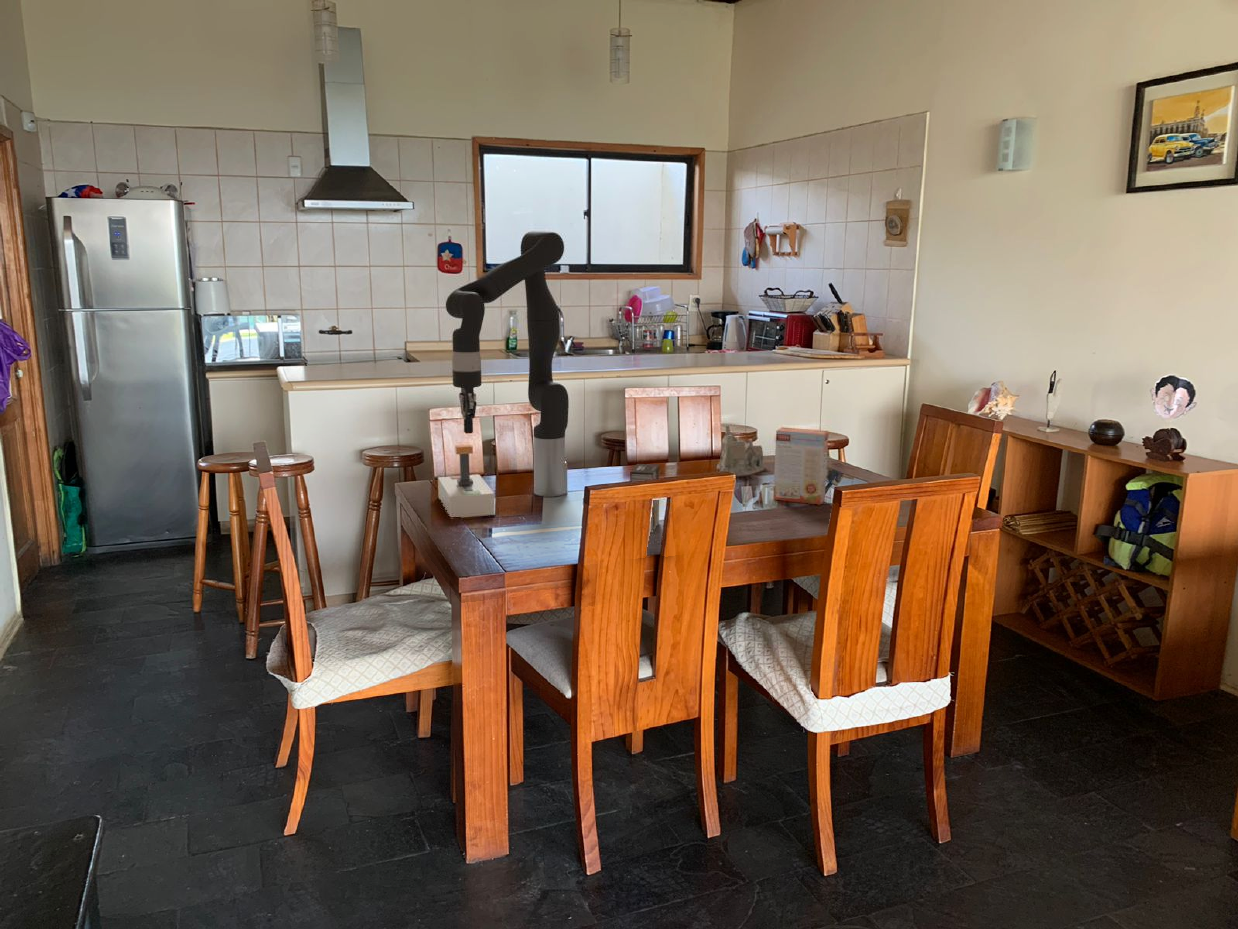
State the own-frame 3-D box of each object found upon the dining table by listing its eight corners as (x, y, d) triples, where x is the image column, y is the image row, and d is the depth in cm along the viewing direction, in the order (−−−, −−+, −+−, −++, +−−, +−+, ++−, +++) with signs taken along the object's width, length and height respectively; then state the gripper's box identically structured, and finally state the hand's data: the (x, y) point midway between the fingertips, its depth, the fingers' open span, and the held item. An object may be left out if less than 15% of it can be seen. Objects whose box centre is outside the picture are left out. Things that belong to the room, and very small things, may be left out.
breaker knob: (471, 481, 261) (470, 444, 259) (473, 484, 259) (472, 446, 256) (456, 483, 260) (455, 445, 257) (458, 485, 257) (456, 447, 255)
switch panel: (479, 494, 273) (479, 473, 271) (494, 514, 253) (494, 492, 251) (438, 497, 269) (437, 476, 268) (450, 518, 249) (449, 496, 247)
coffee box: (635, 521, 248) (636, 463, 244) (659, 523, 246) (660, 464, 243) (629, 531, 239) (629, 471, 235) (653, 533, 238) (654, 472, 234)
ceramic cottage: (718, 475, 297) (723, 429, 294) (715, 465, 313) (719, 421, 310) (767, 479, 296) (772, 433, 294) (761, 469, 313) (765, 425, 310)
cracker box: (825, 500, 269) (829, 430, 264) (820, 506, 264) (824, 434, 259) (778, 495, 275) (781, 425, 270) (772, 500, 269) (775, 429, 264)
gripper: (485, 371, 239) (487, 436, 243) (476, 364, 251) (477, 427, 256) (456, 372, 237) (458, 438, 241) (448, 365, 249) (450, 428, 253)
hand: (468, 432), depth 248 cm, fingers closed
